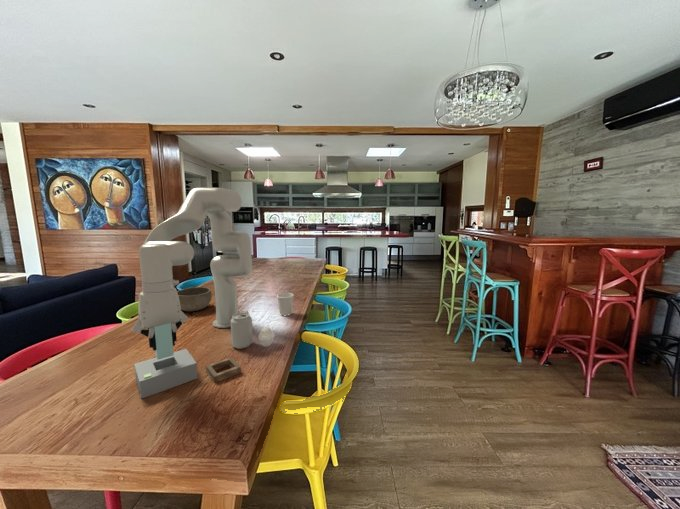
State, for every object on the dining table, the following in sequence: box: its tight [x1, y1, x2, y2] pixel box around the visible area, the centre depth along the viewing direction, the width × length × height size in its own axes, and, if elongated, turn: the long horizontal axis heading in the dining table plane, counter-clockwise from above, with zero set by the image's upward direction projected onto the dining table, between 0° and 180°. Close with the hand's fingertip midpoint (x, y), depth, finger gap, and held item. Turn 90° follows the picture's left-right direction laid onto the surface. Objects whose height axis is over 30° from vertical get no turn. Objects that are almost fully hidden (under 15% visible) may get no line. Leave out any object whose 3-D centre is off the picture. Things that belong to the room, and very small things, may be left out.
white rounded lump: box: [257, 327, 275, 347], centre depth 104 cm, size 6×6×7 cm
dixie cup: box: [276, 292, 294, 316], centre depth 136 cm, size 8×8×10 cm
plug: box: [154, 323, 174, 360], centre depth 80 cm, size 4×4×11 cm
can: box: [230, 313, 254, 350], centre depth 103 cm, size 8×8×12 cm
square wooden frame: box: [205, 357, 242, 384], centre depth 86 cm, size 8×8×2 cm
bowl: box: [177, 286, 213, 312], centre depth 144 cm, size 17×18×10 cm
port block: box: [133, 348, 199, 400], centre depth 82 cm, size 14×12×5 cm
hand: (163, 345), depth 81 cm, fingers closed on plug, 4 cm apart
